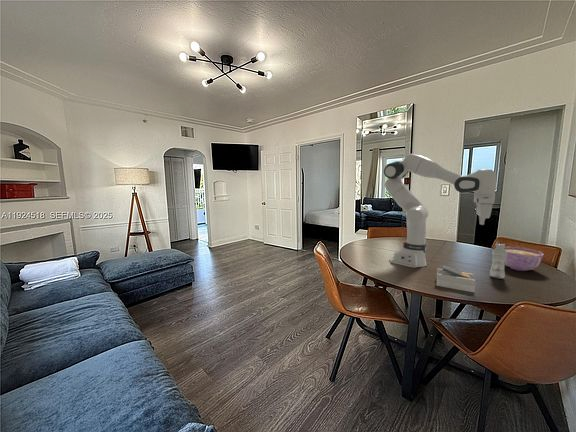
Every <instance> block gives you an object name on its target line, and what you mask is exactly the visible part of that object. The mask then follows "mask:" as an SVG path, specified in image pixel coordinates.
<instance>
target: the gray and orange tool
mask: <svg viewBox="0 0 576 432" xmlns="http://www.w3.org/2000/svg"><path fill="white" fill-rule="evenodd" d="M441 269H442V270H443V271H445V272H447V273H450V274H452V275H455V276H457V277H462V278H468V279H470V276H469V275H468V274H465V273H466V272H464V273H463V271H461V270H458V269H454V268H452V267H450V266H448V265H445V264H443V265H442V268H441Z"/></svg>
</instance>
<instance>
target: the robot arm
mask: <svg viewBox="0 0 576 432" xmlns="http://www.w3.org/2000/svg"><path fill="white" fill-rule="evenodd" d="M408 172H410V173H412V174H416V175H418V176H420V177H423V178H431V179H438V180H442V181H444V182H446V183H449V184H451V185H453V186H454V189H455V190H456V191H457V192H459V193H461V194H471V193H473V203H476V204H475V205H476V209H475V212H476V215H478V221H479V223H478V224H479V225H481V226H484V225H485V221H486V219H490V217H491V215H492V210H493V205H494V204H495V203H496V202H495V200H496V187H497V183H498V182H497V172H496V171H495V170H492V169H485V168H481V169H477V170H476V171H474V172H471V173H470V174H466V175H461V174H458V173H455V172H453V171H451V170H448V169H446V168H445V167H443V166H441V165H440V164H438V162H435V161H433V160H432V159H430V158H428V157H426V156H423V155H419V154H415V153H408V154H407V155H405V156H404V158H403V160H396V161H393V162H390V163H388V164H386V166H385V167H384V168H383V174H384V176H385V177H386V178H387V179H386V181H385V182H384V187H385V189H386V191H387V192H388V194H389V196H390V197H391V198H392V199H393V200H394V202H395V203H396V205H398V207H400V208H401V209H402V210H403V211H404V212H405V213H406V240H404V241H403V242H402V247H400V248H399V249H397V250H396V251H395V252H394V254H393V256H392V257H390V258H389V262H390V263H392V264H395V265H401V266H405V267H409V268H413V269H414V268H424V267H426V266H427V261H426V251H427V244H426V238H427V228H426V227H427V226H426V223H427V218H428V217H429V210H428V209H427V208H426V207H425V206H424V204H423V203H421V201H420V200H419V199H418V198H417V197H416V196H415V195H413V193H412V192H411V191H410V189H409V188H408V187H407V186H406V184H405V183H403V179H404V178H405V176H406V175H407V174H408Z"/></svg>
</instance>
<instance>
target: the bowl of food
mask: <svg viewBox="0 0 576 432" xmlns="http://www.w3.org/2000/svg"><path fill="white" fill-rule="evenodd" d="M504 249H505V250H506V251H507V258H506V261H505V267H510V268H509V269H511V270H514V271H520V272H526V271H531V270H535V269H536V268H538V266H539V265H540V263H541V262H542V259H543V257H544V253H543V252H542V251H539V250H535V249H530V248H527V247H526V248H525V247H517V246H505V248H504Z"/></svg>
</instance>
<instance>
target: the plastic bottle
mask: <svg viewBox="0 0 576 432" xmlns="http://www.w3.org/2000/svg"><path fill="white" fill-rule="evenodd" d="M505 247H506V244H505V243H503V242H496V243H495V248H494V249H492V251H491V252H492V253H491V256H492V260H491V261H492V263H491V266H490V269H489V275H490V276H491V277H492V278H494V279H504V278H505V276H506V271H505V269H506V265H505V261H506V258H507V251H506V250H505V249H504V248H505Z"/></svg>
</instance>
